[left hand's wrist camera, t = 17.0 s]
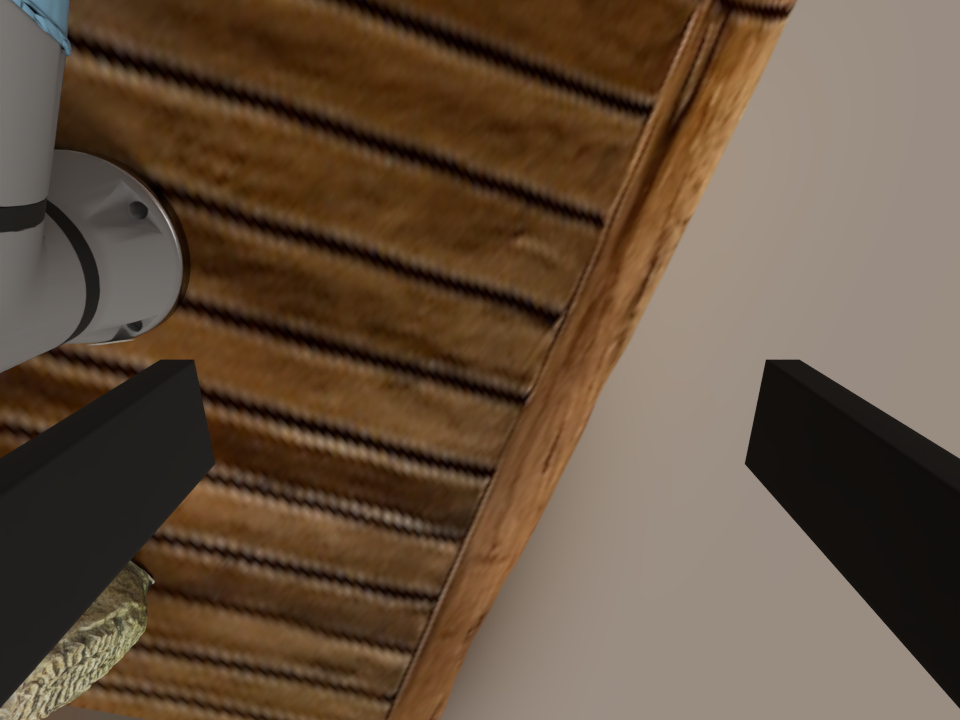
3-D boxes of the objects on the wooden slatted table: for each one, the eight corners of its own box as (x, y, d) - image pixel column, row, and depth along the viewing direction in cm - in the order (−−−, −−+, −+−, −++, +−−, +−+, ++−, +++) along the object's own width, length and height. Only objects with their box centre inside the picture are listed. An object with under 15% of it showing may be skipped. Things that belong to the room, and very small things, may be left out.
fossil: (163, 616, 58) (61, 762, 44) (-14, 560, 55) (-182, 696, 41) (182, 557, 55) (80, 692, 41) (-3, 494, 52) (-181, 617, 38)
